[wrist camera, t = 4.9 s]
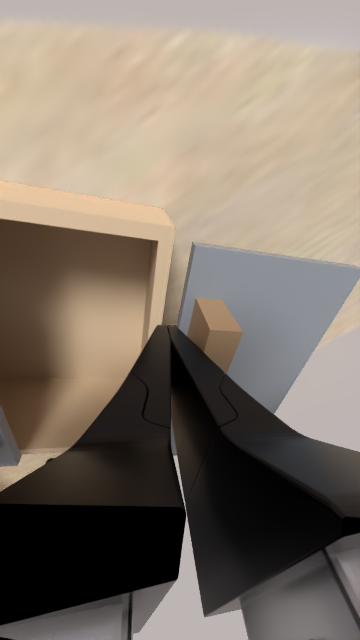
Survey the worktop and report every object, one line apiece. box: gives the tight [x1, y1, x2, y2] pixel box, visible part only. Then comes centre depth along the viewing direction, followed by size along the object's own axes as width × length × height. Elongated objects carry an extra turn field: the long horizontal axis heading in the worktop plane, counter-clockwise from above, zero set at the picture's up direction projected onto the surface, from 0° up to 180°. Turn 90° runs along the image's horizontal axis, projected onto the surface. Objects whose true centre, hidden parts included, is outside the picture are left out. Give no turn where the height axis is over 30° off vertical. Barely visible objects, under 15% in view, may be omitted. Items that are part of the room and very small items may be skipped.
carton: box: [0, 180, 176, 454], centre depth 14 cm, size 16×16×7 cm
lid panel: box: [171, 242, 360, 455], centre depth 12 cm, size 15×8×3 cm, turn 171°
